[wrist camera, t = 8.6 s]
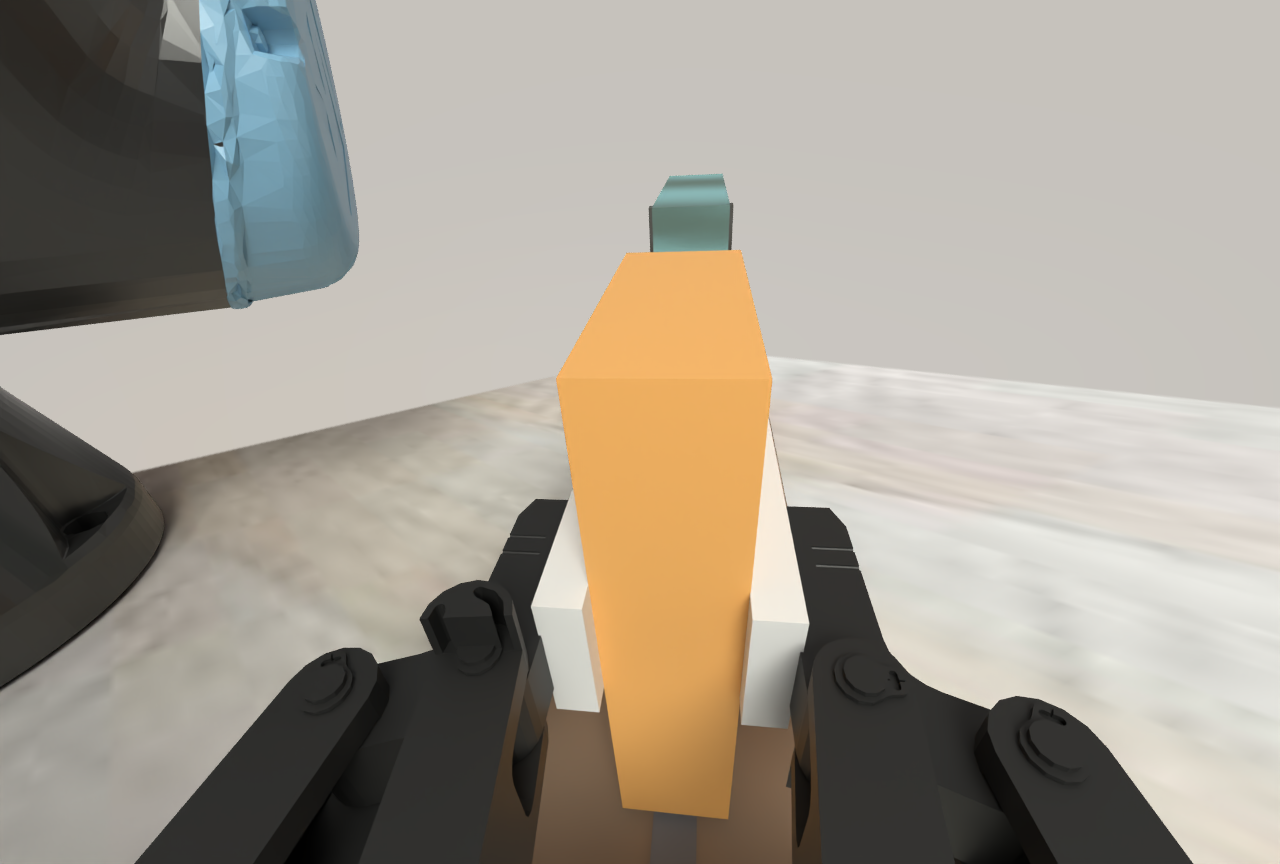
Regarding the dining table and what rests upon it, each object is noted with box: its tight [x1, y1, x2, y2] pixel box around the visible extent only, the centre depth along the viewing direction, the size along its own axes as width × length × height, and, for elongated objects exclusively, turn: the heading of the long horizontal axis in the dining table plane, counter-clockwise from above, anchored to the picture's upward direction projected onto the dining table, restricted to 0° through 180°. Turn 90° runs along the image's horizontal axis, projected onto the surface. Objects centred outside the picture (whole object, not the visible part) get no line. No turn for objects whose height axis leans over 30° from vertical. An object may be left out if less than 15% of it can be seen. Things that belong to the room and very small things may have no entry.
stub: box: [556, 250, 772, 819], centre depth 11 cm, size 6×2×11 cm, turn 174°
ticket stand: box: [532, 174, 795, 864], centre depth 18 cm, size 25×8×13 cm, turn 174°
